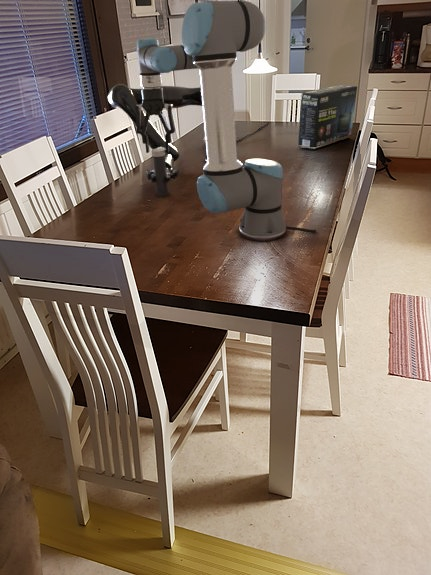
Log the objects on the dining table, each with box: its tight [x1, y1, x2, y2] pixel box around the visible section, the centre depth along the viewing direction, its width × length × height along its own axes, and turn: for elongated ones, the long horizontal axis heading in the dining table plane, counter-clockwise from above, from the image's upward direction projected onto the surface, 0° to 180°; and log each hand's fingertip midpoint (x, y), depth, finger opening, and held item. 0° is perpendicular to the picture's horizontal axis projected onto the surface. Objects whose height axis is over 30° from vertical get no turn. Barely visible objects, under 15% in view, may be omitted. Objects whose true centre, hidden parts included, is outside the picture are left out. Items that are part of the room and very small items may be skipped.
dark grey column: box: [152, 155, 169, 197], centre depth 180 cm, size 5×5×17 cm
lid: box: [151, 147, 165, 157], centre depth 176 cm, size 5×5×2 cm
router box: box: [297, 84, 358, 151], centre depth 238 cm, size 36×11×27 cm, turn 134°
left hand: (160, 180), depth 179 cm, fingers closed on dark grey column, 4 cm apart
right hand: (157, 151), depth 176 cm, fingers open, 7 cm apart
